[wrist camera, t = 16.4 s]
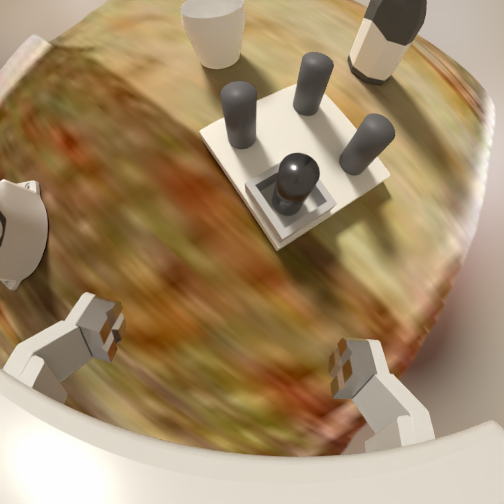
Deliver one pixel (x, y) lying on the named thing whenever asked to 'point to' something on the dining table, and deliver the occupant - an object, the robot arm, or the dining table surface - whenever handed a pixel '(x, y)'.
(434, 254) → the dining table surface
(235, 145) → the white board with pegs
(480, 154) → the dining table surface
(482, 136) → the dining table surface
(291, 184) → the dark rounded cylinder
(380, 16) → the wine bottle
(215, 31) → the cup
